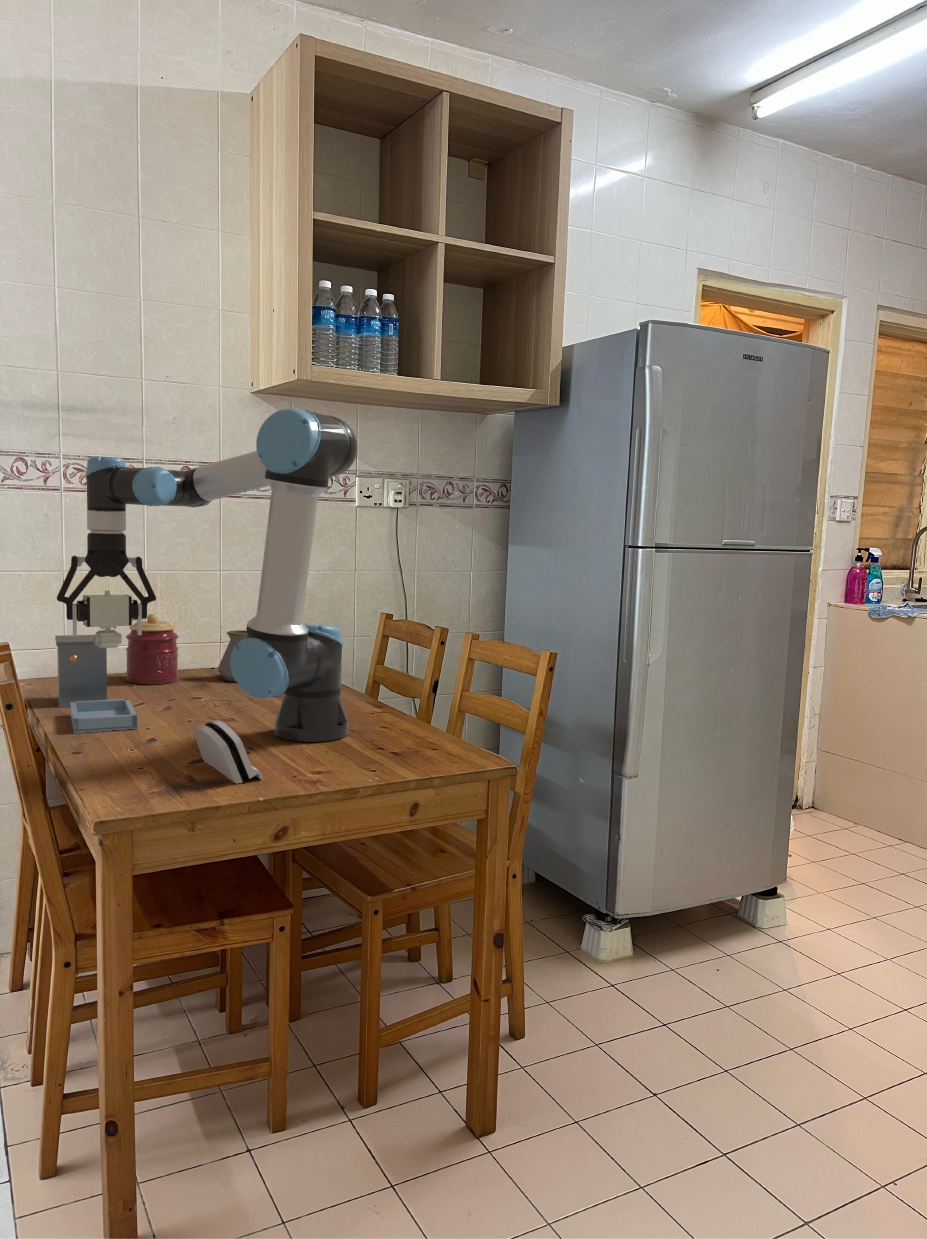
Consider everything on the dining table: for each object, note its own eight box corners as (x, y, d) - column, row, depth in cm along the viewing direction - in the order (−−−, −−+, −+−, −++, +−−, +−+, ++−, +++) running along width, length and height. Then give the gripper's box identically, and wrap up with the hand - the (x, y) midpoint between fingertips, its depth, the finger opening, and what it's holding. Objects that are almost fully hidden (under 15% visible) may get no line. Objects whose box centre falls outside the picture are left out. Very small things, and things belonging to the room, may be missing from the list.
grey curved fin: (264, 780, 154) (246, 729, 151) (239, 793, 152) (220, 741, 149) (229, 756, 168) (211, 709, 165) (205, 768, 166) (187, 720, 163)
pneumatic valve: (139, 647, 191) (138, 591, 190) (79, 650, 185) (79, 591, 184) (133, 643, 196) (133, 588, 194) (75, 646, 190) (74, 589, 188)
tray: (137, 729, 185) (137, 715, 185) (73, 733, 180) (73, 719, 180) (129, 711, 201) (129, 698, 200) (70, 715, 195) (70, 701, 195)
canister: (124, 677, 239) (123, 611, 237) (174, 675, 245) (174, 610, 243) (128, 686, 228) (127, 617, 226) (181, 684, 233) (181, 616, 231)
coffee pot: (214, 676, 246) (214, 621, 244) (256, 674, 251) (257, 620, 249) (228, 691, 227) (228, 632, 225) (274, 689, 231) (274, 631, 230)
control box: (109, 705, 206) (108, 641, 204) (57, 707, 202) (56, 642, 200) (105, 695, 216) (105, 634, 214) (56, 698, 211) (55, 635, 210)
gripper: (165, 533, 196) (165, 631, 198) (42, 530, 186) (44, 633, 189) (169, 534, 189) (169, 636, 192) (42, 531, 179) (44, 638, 182)
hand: (107, 635), depth 190 cm, fingers closed on pneumatic valve, 12 cm apart
